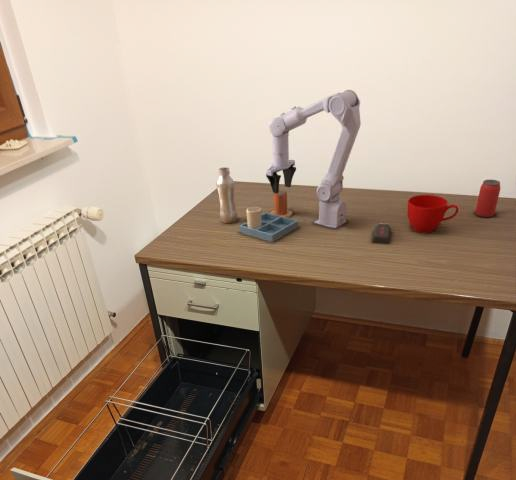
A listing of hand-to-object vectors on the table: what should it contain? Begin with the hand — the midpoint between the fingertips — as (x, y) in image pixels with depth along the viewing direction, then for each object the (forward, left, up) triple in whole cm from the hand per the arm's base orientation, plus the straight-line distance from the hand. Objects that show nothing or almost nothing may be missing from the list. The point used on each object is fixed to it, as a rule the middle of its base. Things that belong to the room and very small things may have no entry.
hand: (281, 189), depth 186 cm
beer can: (-64, -40, -10) cm, 76 cm away
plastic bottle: (+12, +17, -10) cm, 23 cm away
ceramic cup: (-53, -17, -10) cm, 56 cm away
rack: (-6, +15, -10) cm, 19 cm away
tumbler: (0, +1, -9) cm, 9 cm away
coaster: (0, 0, -10) cm, 10 cm away
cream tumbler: (-2, +19, -9) cm, 21 cm away
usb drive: (-42, -3, -10) cm, 43 cm away
